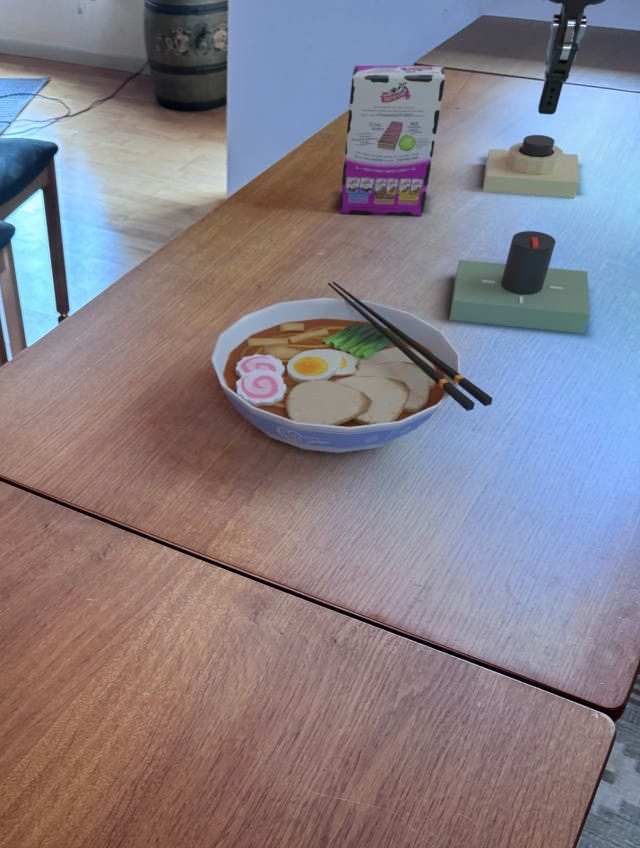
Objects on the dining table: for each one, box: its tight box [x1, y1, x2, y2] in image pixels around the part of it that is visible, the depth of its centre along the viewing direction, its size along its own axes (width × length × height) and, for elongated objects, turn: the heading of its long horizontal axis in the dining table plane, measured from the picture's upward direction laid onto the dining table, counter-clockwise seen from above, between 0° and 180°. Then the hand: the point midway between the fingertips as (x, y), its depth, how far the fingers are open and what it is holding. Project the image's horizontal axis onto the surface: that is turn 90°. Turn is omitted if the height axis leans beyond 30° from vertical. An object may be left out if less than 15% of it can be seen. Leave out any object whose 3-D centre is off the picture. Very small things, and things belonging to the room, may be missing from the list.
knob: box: [501, 230, 557, 294], centre depth 98 cm, size 4×4×5 cm
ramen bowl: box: [211, 281, 494, 454], centre depth 86 cm, size 25×23×8 cm
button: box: [520, 134, 555, 157], centre depth 123 cm, size 4×4×2 cm
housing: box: [482, 142, 580, 200], centre depth 125 cm, size 12×10×4 cm
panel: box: [449, 259, 591, 335], centre depth 101 cm, size 14×10×3 cm
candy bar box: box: [338, 65, 446, 217], centre depth 116 cm, size 11×5×16 cm, turn 80°
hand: (546, 112), depth 120 cm, fingers closed
